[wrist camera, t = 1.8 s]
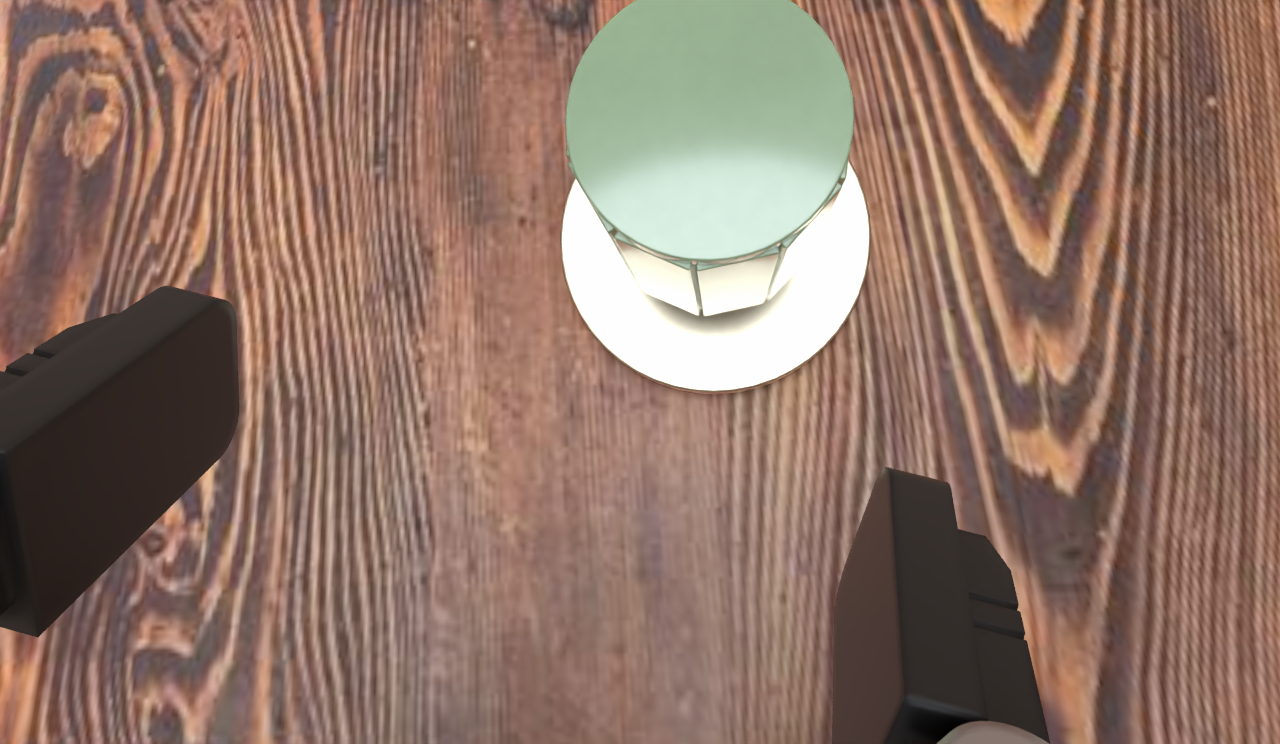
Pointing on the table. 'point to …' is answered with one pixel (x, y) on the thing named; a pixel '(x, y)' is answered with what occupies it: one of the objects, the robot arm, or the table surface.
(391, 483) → the table surface
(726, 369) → the towel holder
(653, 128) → the green grooved cylinder
